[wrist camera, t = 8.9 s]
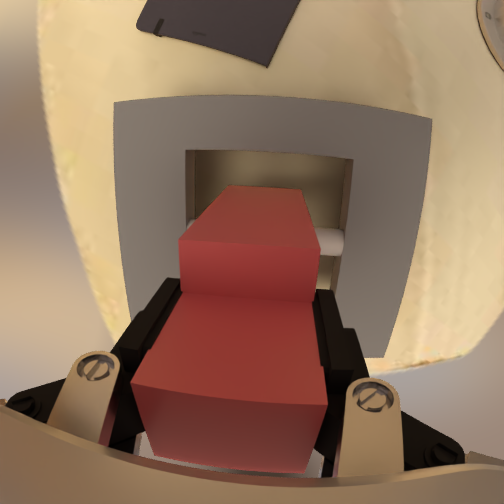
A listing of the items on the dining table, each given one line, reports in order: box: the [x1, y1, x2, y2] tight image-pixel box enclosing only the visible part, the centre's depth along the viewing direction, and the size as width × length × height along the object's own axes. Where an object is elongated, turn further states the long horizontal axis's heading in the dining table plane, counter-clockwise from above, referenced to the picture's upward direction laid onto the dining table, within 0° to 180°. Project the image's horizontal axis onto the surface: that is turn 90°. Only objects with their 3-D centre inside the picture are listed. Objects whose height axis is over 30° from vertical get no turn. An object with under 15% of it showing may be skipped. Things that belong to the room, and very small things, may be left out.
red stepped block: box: [130, 185, 328, 473], centre depth 12 cm, size 4×6×13 cm, turn 178°
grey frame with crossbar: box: [113, 95, 432, 358], centre depth 22 cm, size 18×16×10 cm
